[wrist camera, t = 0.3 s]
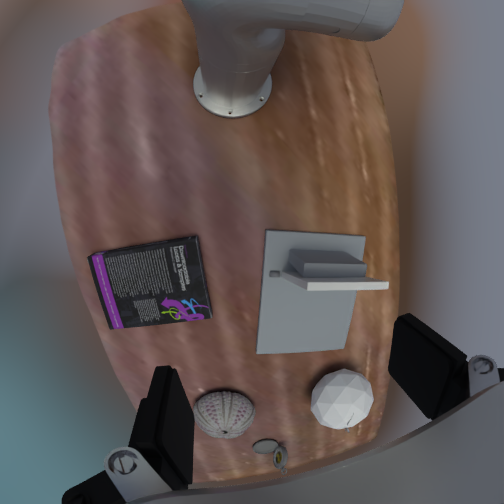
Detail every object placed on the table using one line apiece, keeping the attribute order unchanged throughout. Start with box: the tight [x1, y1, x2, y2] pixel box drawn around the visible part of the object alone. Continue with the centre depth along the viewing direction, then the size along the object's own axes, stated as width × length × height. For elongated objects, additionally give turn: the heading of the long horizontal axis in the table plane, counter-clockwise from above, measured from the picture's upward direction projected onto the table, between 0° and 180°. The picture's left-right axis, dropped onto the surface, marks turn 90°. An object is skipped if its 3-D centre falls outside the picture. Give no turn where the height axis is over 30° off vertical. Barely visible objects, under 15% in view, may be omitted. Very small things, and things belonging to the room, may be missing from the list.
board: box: [256, 230, 367, 354], centre depth 44 cm, size 23×18×9 cm
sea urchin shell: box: [193, 391, 256, 439], centre depth 49 cm, size 13×14×8 cm
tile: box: [282, 271, 389, 291], centre depth 39 cm, size 13×12×1 cm
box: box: [87, 236, 213, 329], centre depth 43 cm, size 14×4×20 cm
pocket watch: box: [253, 439, 288, 475], centre depth 54 cm, size 8×8×10 cm
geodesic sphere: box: [311, 369, 373, 433], centre depth 48 cm, size 14×14×14 cm
